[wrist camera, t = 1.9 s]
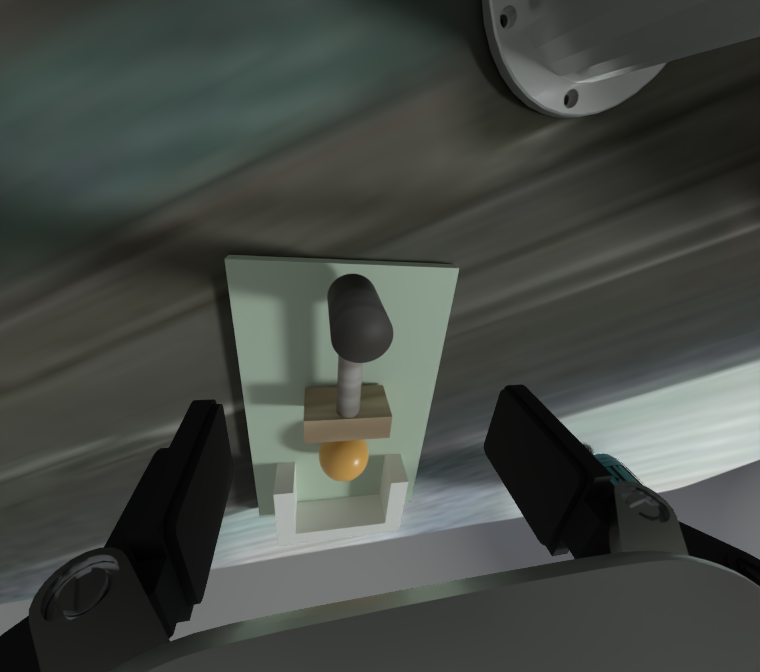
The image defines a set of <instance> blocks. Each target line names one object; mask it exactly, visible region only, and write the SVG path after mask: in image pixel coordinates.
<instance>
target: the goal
mask: <svg viewBox="0 0 760 672" xmlns="http://www.w3.org/2000/svg"><path fill="white" fill-rule="evenodd" d="M407 487H408V478H407V475H406V472H405V468H404V465H403V461H402V458H401V454H393V455H385V456H384V464H383V471H382V478H381V486H380V493H379V494H374V495H364V496H355V497H345V498H335V499H325V500H316V501H306V502H297V490H296V470H295V462H291V463H278V464H277V469H276V478H275V486H274V494H273V496H274V506H275V516H276V526H277V536H278V546H284V545H292V544H300V543H308V542H315V541H323V540H331V539H339V538H347V537H355V536H363V535H371V534H379V533H387V532H394V531H399V528H400V523H401V518H402V512H403V507H404V502H405V497H406V492H407Z"/></svg>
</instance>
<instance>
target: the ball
mask: <svg viewBox="0 0 760 672" xmlns="http://www.w3.org/2000/svg"><path fill="white" fill-rule="evenodd" d="M368 458H369V450H368V446H367V443H366V441H365V439H364V440H350V441H335V442H322V444H321V446H320V450H319V463H320V466H321V468H322V470H323V472H324V473H325V474H326V475H327V476H328V477H329V478H331V479H333V480H335V481H340V482H346V481H350V480H353V479H355V478H356V477H358V476H359V475H360V474H361V473H362V472H363V471H364V469H365V467H366V465H367V463H368Z"/></svg>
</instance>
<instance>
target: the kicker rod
mask: <svg viewBox="0 0 760 672" xmlns="http://www.w3.org/2000/svg"><path fill="white" fill-rule="evenodd" d="M327 301H328V313H329V324H330V336H331V343H332V346H333V348H334V350H335V352H336V353H337V354H338V379H337V387H315V388H305V398H304V420H303V423H304V444H305V443H320V442H335V441H350V440H364V439H379V438H390V431H391V423H392V413H391V410H390V407H389V403H388V400H387V397H386V393H385V390H384V387H383V385H372V386H361V384H362V371H363V363H366V362H370V361H373V360H376V359H377V358H379V357H381V356H382V355H383V354H384V353H385V352H386V351H387V350H388V349H389V347H390V345H391V343H392V340H393V327H392V324H391V322H390V320H389V317H388V315H387V313H386V311H385V309H384V307H383V304H382V302H381V300H380V298H379V296H378V294H377V291H376V289H375V287H374V285H373V284H372V282H371V281H370V280H369V279H367V278H366V277H364V276H362V275H359V274H346V275H343V276H340V277H339V278H337V279H336V280H335V281H334V282H333V283H332V284H331V286H330V288H329V290H328V294H327Z"/></svg>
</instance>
